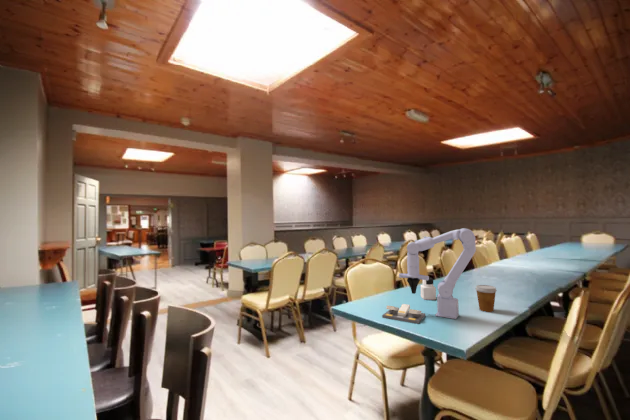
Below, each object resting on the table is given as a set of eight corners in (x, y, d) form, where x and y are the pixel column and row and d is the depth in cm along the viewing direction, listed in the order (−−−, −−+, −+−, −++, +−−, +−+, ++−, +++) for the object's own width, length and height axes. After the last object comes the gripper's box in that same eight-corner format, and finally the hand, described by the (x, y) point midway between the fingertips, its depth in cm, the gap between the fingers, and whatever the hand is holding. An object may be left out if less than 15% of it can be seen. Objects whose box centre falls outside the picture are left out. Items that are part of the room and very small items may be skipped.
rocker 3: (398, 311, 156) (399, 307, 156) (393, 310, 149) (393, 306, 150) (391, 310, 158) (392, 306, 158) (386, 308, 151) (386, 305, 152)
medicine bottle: (432, 296, 187) (432, 276, 187) (436, 299, 180) (435, 279, 180) (420, 296, 187) (420, 276, 188) (423, 299, 180) (423, 279, 181)
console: (425, 315, 151) (425, 311, 151) (418, 323, 141) (417, 319, 141) (391, 310, 161) (391, 306, 161) (382, 317, 150) (382, 313, 150)
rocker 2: (410, 307, 153) (409, 304, 153) (405, 316, 147) (404, 313, 146) (402, 306, 155) (402, 303, 155) (397, 315, 149) (397, 312, 148)
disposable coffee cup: (499, 309, 159) (498, 286, 159) (494, 314, 152) (493, 289, 152) (479, 306, 165) (478, 283, 166) (473, 310, 159) (472, 287, 159)
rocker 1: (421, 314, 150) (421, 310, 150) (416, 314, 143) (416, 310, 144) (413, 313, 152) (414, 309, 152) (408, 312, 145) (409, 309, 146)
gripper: (430, 266, 156) (430, 293, 156) (401, 264, 164) (402, 289, 164) (426, 268, 150) (427, 296, 150) (397, 265, 158) (397, 292, 158)
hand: (413, 293), depth 157 cm, fingers closed
